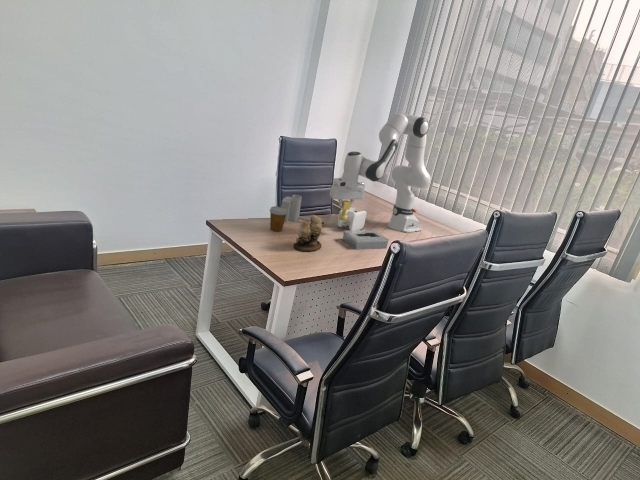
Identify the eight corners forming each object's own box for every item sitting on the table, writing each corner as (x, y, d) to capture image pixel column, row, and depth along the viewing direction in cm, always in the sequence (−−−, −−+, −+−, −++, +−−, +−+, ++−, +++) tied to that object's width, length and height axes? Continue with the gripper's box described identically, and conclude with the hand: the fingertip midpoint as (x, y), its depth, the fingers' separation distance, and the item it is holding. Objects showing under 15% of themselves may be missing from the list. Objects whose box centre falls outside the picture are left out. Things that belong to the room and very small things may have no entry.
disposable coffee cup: (288, 230, 222) (290, 209, 218) (279, 234, 214) (282, 212, 210) (273, 225, 226) (275, 205, 221) (264, 229, 217) (266, 208, 213)
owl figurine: (308, 239, 214) (313, 208, 208) (326, 246, 209) (332, 215, 203) (287, 246, 199) (293, 214, 194) (307, 255, 194) (313, 221, 188)
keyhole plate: (372, 238, 232) (374, 230, 230) (386, 248, 220) (388, 239, 219) (342, 239, 222) (344, 230, 221) (355, 249, 211) (357, 240, 209)
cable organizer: (350, 233, 235) (354, 214, 231) (335, 227, 240) (339, 209, 236) (363, 229, 246) (367, 211, 242) (349, 223, 252) (353, 206, 248)
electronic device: (283, 215, 246) (286, 191, 241) (324, 223, 244) (328, 199, 239) (278, 220, 235) (281, 195, 230) (321, 229, 232) (325, 204, 227)
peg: (344, 218, 229) (347, 200, 225) (348, 220, 225) (351, 202, 222) (337, 218, 227) (340, 200, 223) (341, 220, 223) (344, 202, 220)
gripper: (362, 181, 226) (357, 204, 231) (330, 180, 216) (326, 204, 221) (368, 184, 221) (363, 208, 226) (336, 183, 211) (331, 208, 216)
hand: (345, 206), depth 223 cm, fingers closed on peg, 4 cm apart
